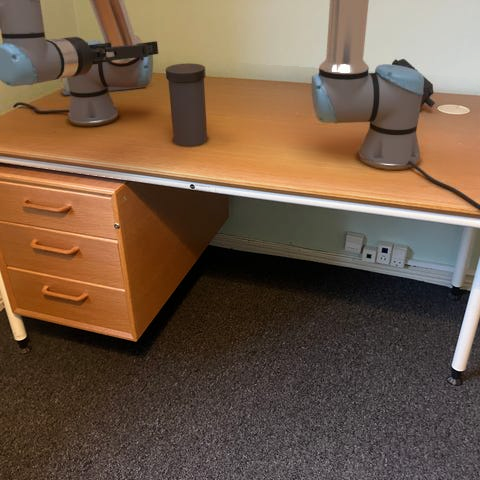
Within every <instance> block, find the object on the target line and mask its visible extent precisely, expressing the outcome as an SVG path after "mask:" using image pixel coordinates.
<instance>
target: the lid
mask: <svg viewBox="0 0 480 480" xmlns="http://www.w3.org/2000/svg"><path fill="white" fill-rule="evenodd" d="M165 76H166V80H167V81H168V80H169V81H173V82H194V81H199V80H202V79H204V80H205V78H206V66H205V65H203V64H199V63H191V62H190V63H189V62H188V63H176V64H172V65H169V66H167V67H166V68H165Z"/></svg>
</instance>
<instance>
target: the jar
mask: <svg viewBox="0 0 480 480" xmlns="http://www.w3.org/2000/svg"><path fill="white" fill-rule="evenodd" d="M167 81H168V92H169V102H170V103H169V104H170V114H171V125H172V138H173V143H174V144H175V145H178V146H180V147H198V146H201V145H203V144H205V143H207V141H208V127H207V109H206V108H207V105H206V88H205V87H206V86H205V78H204V79H202V80H199V81H194V82H173V81H169V80H167Z"/></svg>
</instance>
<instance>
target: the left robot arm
mask: <svg viewBox="0 0 480 480" xmlns="http://www.w3.org/2000/svg"><path fill="white" fill-rule="evenodd" d="M88 1H89V4H90V7H91V9H92V12H93V15H94V17H95V19H96V22H97V25H98V27H99V30H100V33H101V36H102V38H103V40H104V43H102V41H101V40H97V39H95V40H94V39H92V40H85V39H84V38H82V37H79V36H71V37H70V36H69V37H57V38H47V37H46V33H45V25H44V17H43V11H42V4H41V0H0V35H1V40H2V43H1V44H0V82H1V83H3V84H5V85H6V86H9V87H21V86H22V87H23V86H33V85H36V84H41V83H46V82H50V81H55V80H56V81H57V82H58V83H63V79H64V78H67V80H68V85H69V90H70V95H69V96H70V101H69V109H52V110H51V109H49V110H40V109H38V108H37V107H36V106H35V105H32V104H29V103H26V102H22V101H21V102H20V101H19V102H16V103H14V104H13V106H12V108H14V109H15V108H17V107H18V106H24V107H27V108H29V109H33V110H34V112H35V113H36V114H65V113H66V114H67V113H68V121H69V124H71V125H72V126H76V127H82V128H87V127H88V128H91V127H100V126H105V125H108V124H111V123H113V122H115V121H117V120H118V119H119V113H118V108H117V107H116V106H115V102H114V101H113V99H112V96H111V94H110V91H108V87H135V88H134V89H139V88H138V87H143V88H146V87H148V86H150V85H151V82H152V78H153V73H154V72H153V71H154V55H159V47H158V41H157V40H155V41H146V42H143V41H142V39H141V38H140V36H138V35H136V34H135V32H134V30H133V25H132V22H131V19H130V16H129V12H128V9H127V5H126V3H125V0H88ZM46 38H47V39H46Z"/></svg>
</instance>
